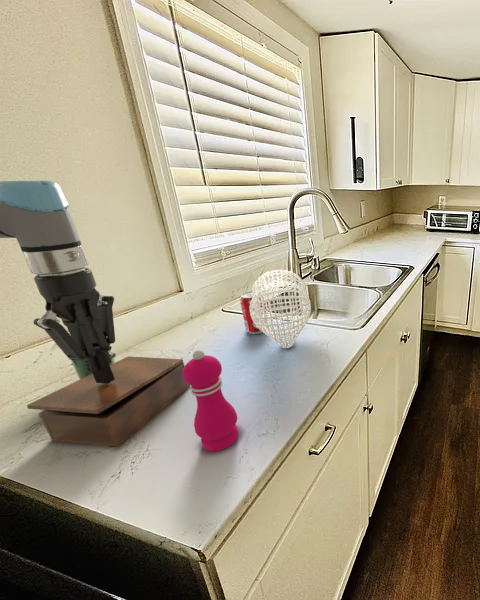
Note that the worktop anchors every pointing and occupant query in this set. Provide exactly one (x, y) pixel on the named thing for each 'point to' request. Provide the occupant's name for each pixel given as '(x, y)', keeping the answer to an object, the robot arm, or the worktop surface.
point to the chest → (116, 414)
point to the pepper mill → (210, 403)
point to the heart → (257, 313)
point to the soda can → (248, 320)
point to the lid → (106, 386)
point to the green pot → (81, 367)
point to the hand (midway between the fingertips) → (105, 380)
